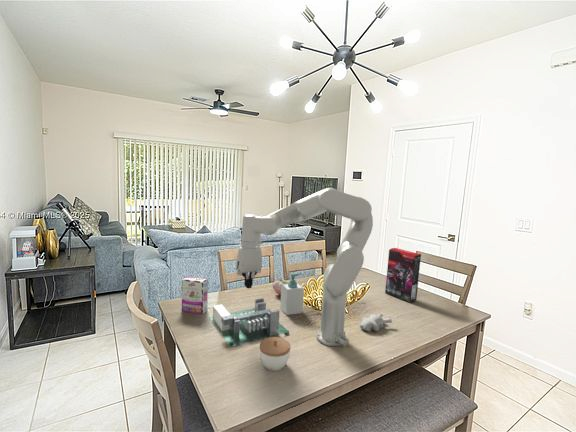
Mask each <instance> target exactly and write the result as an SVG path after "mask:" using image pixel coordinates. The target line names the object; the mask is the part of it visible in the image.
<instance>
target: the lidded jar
mask: <svg viewBox="0 0 576 432" xmlns="http://www.w3.org/2000/svg"><path fill="white" fill-rule="evenodd" d="M290 353H291V343H290V342H289V341H288V339H285V338H283V337H278V336H271V337H267V338H264V339H263V340H262V339H261V341H260V343H259V357H260V361H261V364H263V366H265V368H266V370H269V371H273V372H276V371H280V370H282V368H283V367H284V366H286V364H287V363H288V361H289V359H290V356H291V355H290Z"/></svg>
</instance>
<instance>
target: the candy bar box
mask: <svg viewBox="0 0 576 432" xmlns="http://www.w3.org/2000/svg"><path fill="white" fill-rule="evenodd" d="M208 280H209V279H208V278H201V277H193V276H186V277H183V278H182V279H181V311H182V312H188V313H193V314H199V315H204V314H205V313H206V312H207V311H208V299H209V297H208V296H209V295H208V290H209V289H208V286H209V285H208V284H209V281H208Z"/></svg>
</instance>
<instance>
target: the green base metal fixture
mask: <svg viewBox="0 0 576 432" xmlns="http://www.w3.org/2000/svg"><path fill="white" fill-rule="evenodd" d="M266 307H267V302H266V301H265V299H264V297H259V298H255V299H254V308H250V309H244V310H240V311H235V312H229V313H230V314H231V315H232V316H237V315H242V314H247V313H252V312H257V311H262V310H267V309H266ZM271 311H272V310H271ZM209 319H210V321H211V322H212V323H213V325H214V326H215V327H216V329H217V330H218V332H219V333H220V334H221V336H222V337H223V338H224V340H225V341H226V343H227V344H228V346H229V347H230V348H233V347H236V346H240V345H244V344H248V343H251V342H255V341H259V340H262V339H263V340H264V339H266V338H269V337H276V336H278V335H282V334H283V335H284V336H287V335H290V331H289V330H288V329H287V328H286V327H285V326H284V325H282V324H281V323H280V310H279V309H278V310H277V309H276V310H273V311H272V312H268V313H267V315H263V316H258V317H254V318H249V319H244V320H236V321H234V324H230V325H229V330H224V331H222V330H221V329H220V328H219V326H218V325H217V324H216V322H215V321H214V320H213V316H209Z"/></svg>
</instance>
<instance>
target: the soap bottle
mask: <svg viewBox="0 0 576 432" xmlns="http://www.w3.org/2000/svg"><path fill="white" fill-rule="evenodd" d="M288 274H289V275H290V277H291V279H290V280H289V282H288V283H282V284H281V295H280V306H279V308H280V309H281V310H282V312H283V313H284V314H285V315H286V316H289V315H296V314H297V315H298V314H303V313H304V312H303V309H304V293H305V287H303V286H302V285H301V284H300V283H298V282H297V280H296V279H295V277H297V276H300V275H302V272H294V273H293V272H292V273H288Z"/></svg>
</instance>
